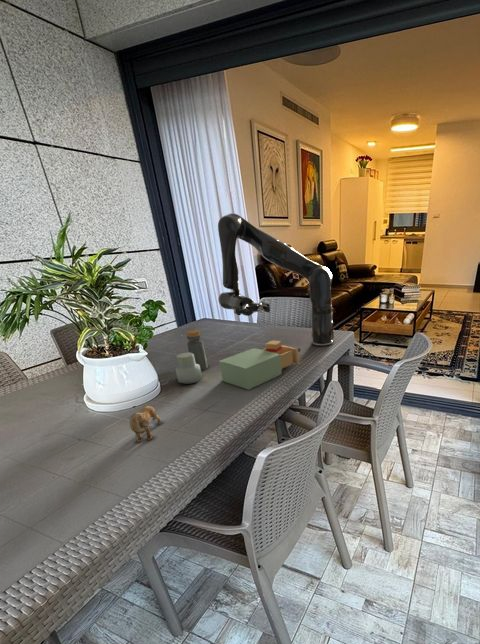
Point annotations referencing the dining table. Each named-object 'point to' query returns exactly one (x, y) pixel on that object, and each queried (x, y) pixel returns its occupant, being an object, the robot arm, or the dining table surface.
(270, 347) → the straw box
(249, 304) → the robot arm
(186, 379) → the air freshener
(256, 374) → the cabinet
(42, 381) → the dining table surface
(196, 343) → the bottle
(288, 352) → the drawer
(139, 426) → the lion figurine
